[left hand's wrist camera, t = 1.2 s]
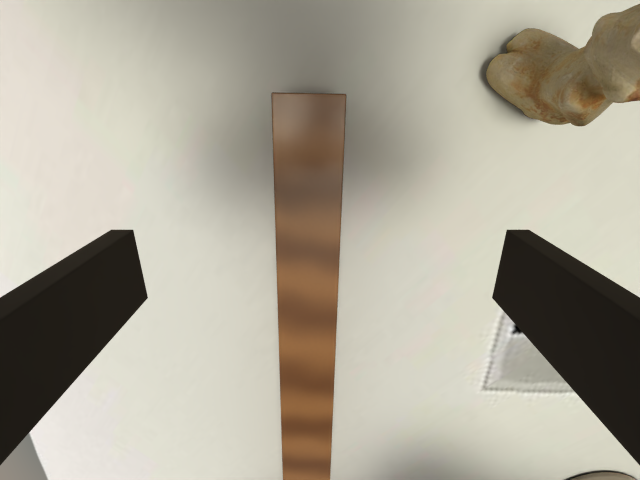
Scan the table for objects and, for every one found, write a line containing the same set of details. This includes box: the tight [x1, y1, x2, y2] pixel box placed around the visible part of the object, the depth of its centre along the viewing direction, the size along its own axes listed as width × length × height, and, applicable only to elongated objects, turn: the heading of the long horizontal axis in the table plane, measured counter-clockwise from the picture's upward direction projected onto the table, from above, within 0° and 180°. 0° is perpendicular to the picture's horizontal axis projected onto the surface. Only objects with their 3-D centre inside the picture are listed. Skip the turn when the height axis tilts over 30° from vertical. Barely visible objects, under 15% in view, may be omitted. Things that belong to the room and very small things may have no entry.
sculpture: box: [486, 4, 640, 126], centre depth 22 cm, size 6×7×15 cm
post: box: [272, 93, 346, 480], centre depth 35 cm, size 54×5×8 cm, turn 179°
